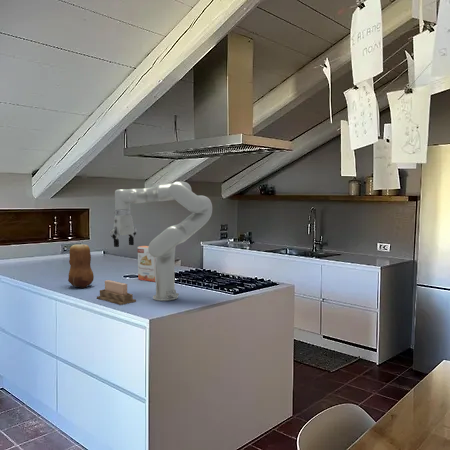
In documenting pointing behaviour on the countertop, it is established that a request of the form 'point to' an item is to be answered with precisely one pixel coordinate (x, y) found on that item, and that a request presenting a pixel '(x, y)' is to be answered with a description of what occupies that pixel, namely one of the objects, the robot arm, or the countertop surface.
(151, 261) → the cracker box
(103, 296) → the slot rack
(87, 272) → the butternut squash
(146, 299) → the countertop surface
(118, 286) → the clay strip
